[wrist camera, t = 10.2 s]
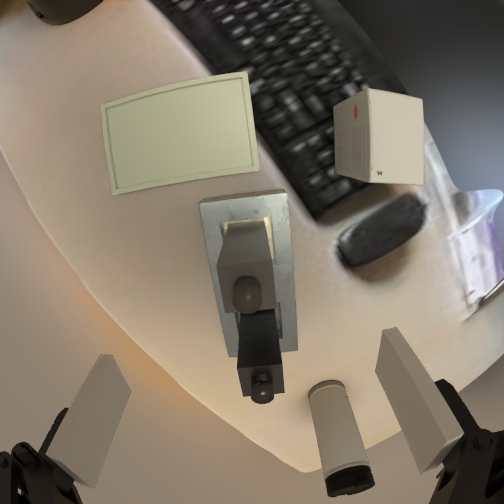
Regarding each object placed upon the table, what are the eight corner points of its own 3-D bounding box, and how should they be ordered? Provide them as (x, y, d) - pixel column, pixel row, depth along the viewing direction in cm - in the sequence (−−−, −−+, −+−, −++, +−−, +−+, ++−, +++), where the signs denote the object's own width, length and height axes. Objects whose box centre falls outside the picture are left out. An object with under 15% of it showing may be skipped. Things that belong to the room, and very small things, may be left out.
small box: (376, 175, 30) (425, 188, 21) (333, 173, 30) (369, 185, 21) (376, 109, 28) (424, 98, 18) (331, 105, 28) (367, 86, 18)
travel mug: (350, 378, 41) (386, 480, 22) (336, 403, 43) (361, 499, 25) (316, 377, 41) (342, 487, 22) (303, 403, 43) (320, 504, 24)
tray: (104, 106, 27) (100, 105, 26) (247, 74, 27) (246, 71, 25) (116, 194, 31) (112, 195, 30) (259, 170, 30) (259, 170, 29)
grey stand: (203, 199, 31) (166, 238, 18) (283, 189, 31) (310, 220, 17) (230, 343, 38) (222, 429, 24) (295, 336, 38) (312, 421, 24)
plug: (228, 223, 32) (212, 277, 18) (264, 219, 31) (274, 270, 18) (233, 257, 33) (222, 328, 20) (268, 253, 33) (279, 322, 20)
